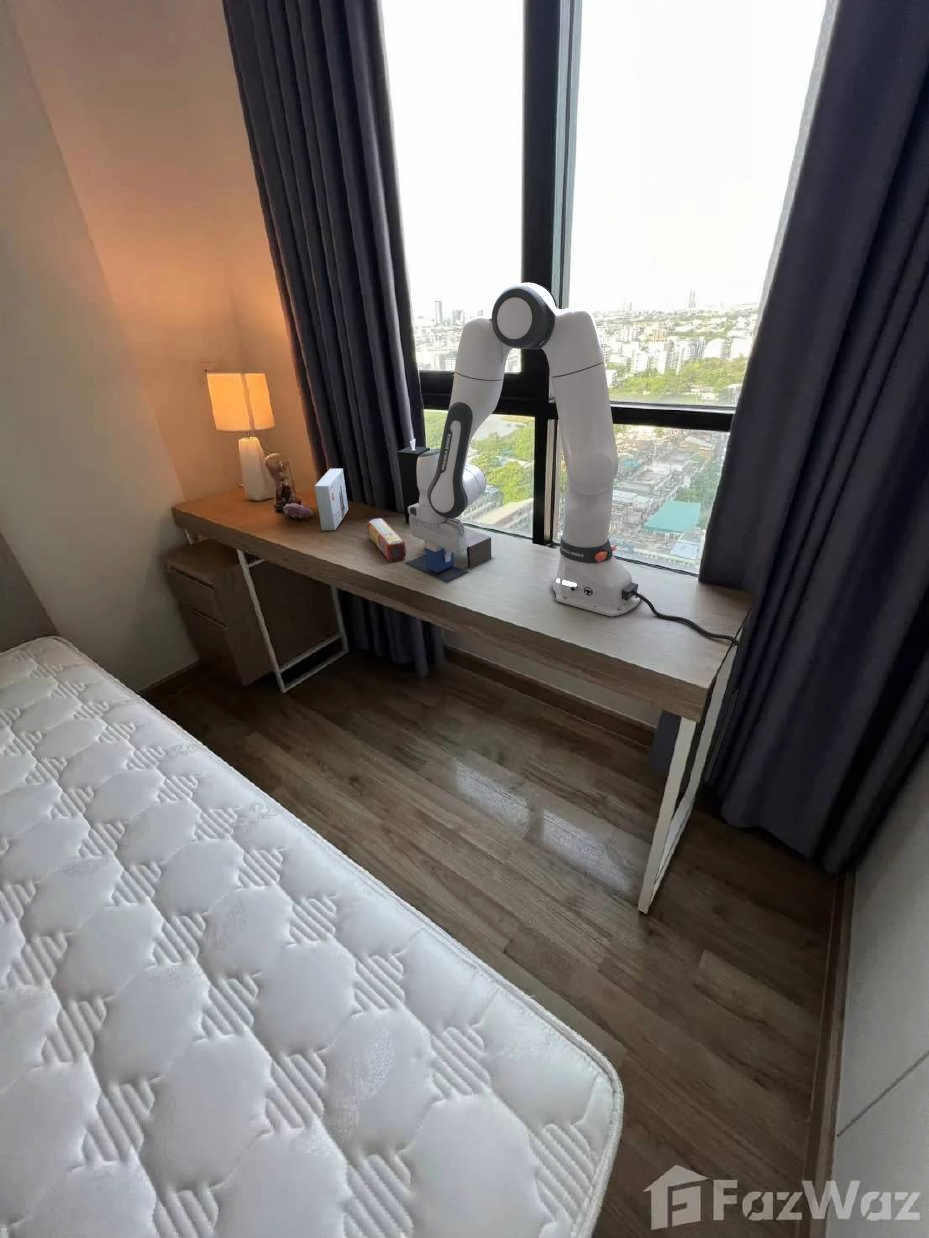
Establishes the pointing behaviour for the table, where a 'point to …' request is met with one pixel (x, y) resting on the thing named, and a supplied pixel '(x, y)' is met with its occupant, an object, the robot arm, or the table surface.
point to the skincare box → (331, 499)
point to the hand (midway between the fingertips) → (439, 557)
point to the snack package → (386, 539)
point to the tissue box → (409, 475)
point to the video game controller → (297, 510)
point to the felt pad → (443, 575)
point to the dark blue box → (436, 557)
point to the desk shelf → (477, 548)
